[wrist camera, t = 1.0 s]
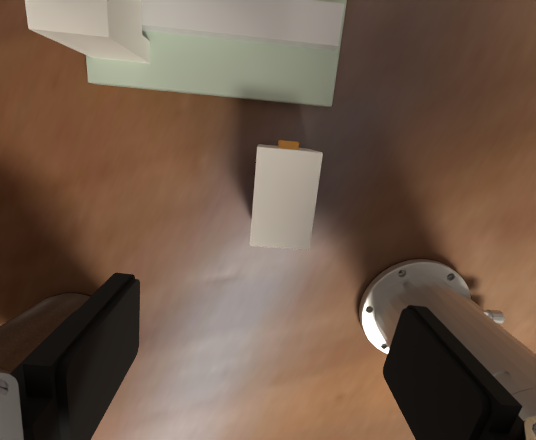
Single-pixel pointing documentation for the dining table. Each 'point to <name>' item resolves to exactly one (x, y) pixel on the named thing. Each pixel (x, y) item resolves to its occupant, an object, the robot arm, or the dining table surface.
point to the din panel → (203, 45)
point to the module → (284, 195)
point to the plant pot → (34, 327)
